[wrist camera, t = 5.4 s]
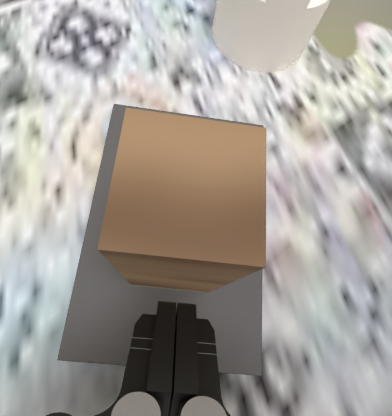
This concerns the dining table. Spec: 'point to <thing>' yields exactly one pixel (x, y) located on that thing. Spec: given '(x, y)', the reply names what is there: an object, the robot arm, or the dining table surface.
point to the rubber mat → (151, 294)
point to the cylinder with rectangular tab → (265, 31)
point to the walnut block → (186, 202)
